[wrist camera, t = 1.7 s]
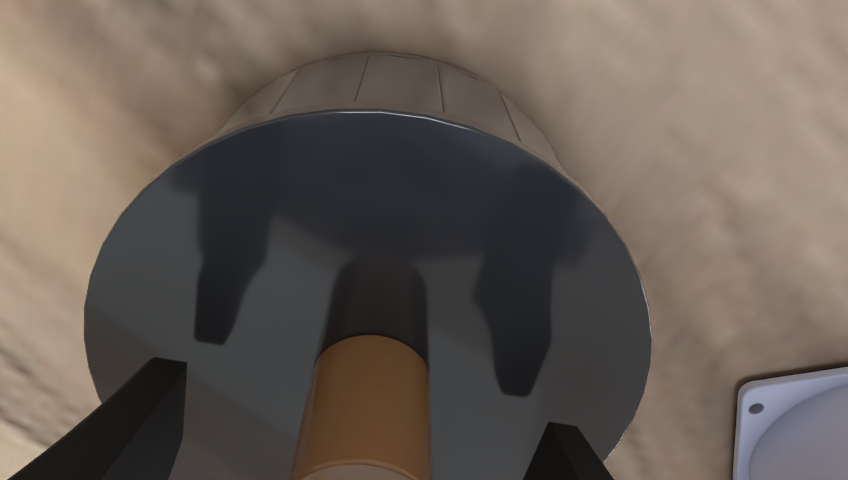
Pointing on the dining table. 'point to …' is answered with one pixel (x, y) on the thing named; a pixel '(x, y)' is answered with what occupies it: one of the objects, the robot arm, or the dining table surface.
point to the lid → (371, 300)
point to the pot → (395, 92)
